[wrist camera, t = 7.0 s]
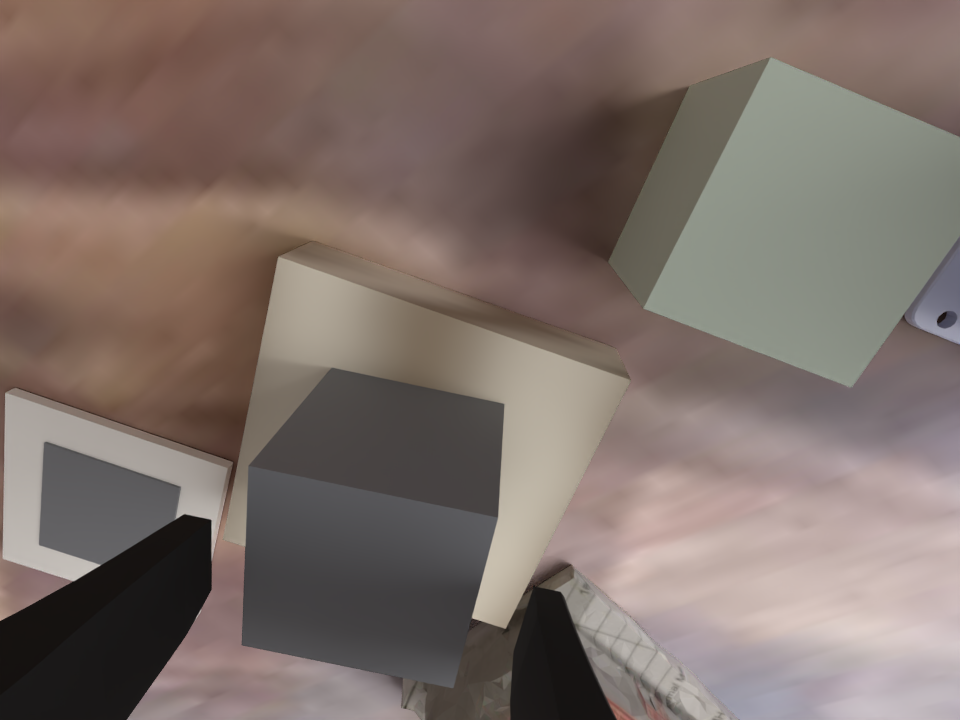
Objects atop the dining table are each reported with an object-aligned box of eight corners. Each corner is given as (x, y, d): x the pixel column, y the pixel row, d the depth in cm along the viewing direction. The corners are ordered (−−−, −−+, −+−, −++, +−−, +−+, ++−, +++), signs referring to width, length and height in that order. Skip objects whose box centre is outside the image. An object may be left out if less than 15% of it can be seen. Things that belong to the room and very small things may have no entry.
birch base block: (613, 342, 17) (631, 380, 15) (507, 565, 21) (505, 628, 18) (318, 238, 17) (278, 256, 14) (262, 486, 20) (222, 539, 18)
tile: (233, 461, 19) (226, 469, 19) (200, 611, 22) (193, 621, 22) (15, 387, 19) (2, 394, 18) (11, 551, 22) (0, 560, 21)
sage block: (856, 155, 14) (1014, 159, 10) (757, 319, 16) (851, 387, 12) (688, 86, 14) (770, 57, 10) (607, 261, 16) (643, 308, 11)
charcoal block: (504, 403, 15) (497, 518, 10) (471, 540, 17) (453, 688, 12) (331, 367, 15) (248, 465, 10) (317, 508, 17) (241, 645, 12)
